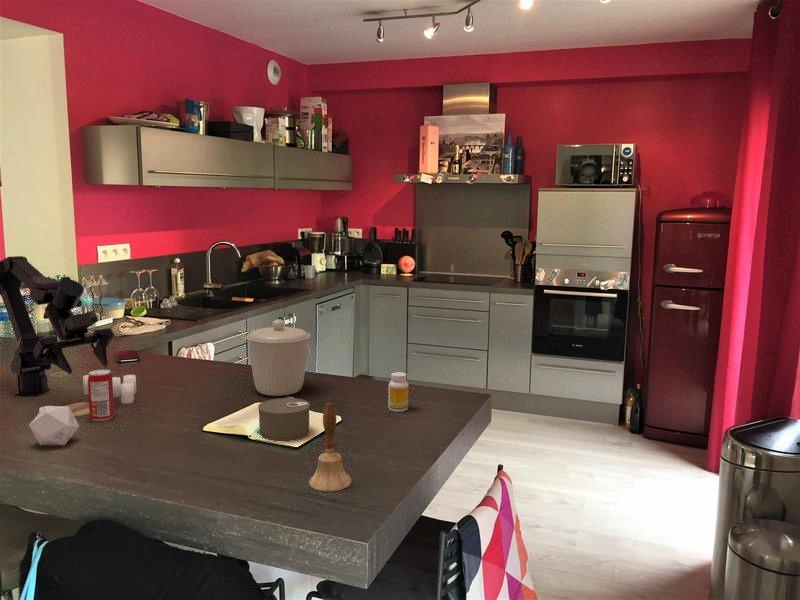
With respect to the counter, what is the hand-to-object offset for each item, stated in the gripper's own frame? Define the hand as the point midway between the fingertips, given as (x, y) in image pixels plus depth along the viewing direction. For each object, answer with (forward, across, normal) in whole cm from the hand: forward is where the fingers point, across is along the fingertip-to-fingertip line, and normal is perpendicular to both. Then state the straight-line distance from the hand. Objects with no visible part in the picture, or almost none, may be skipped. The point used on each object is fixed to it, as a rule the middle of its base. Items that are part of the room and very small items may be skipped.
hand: (88, 369), depth 164 cm
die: (+18, -16, -1) cm, 24 cm away
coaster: (+5, 0, +12) cm, 13 cm away
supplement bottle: (+50, +52, -33) cm, 79 cm away
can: (+43, +20, -25) cm, 54 cm away
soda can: (+12, 0, +5) cm, 13 cm away
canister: (+24, +44, -7) cm, 51 cm away
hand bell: (+62, +6, -45) cm, 77 cm away
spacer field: (+5, +2, +11) cm, 12 cm away
